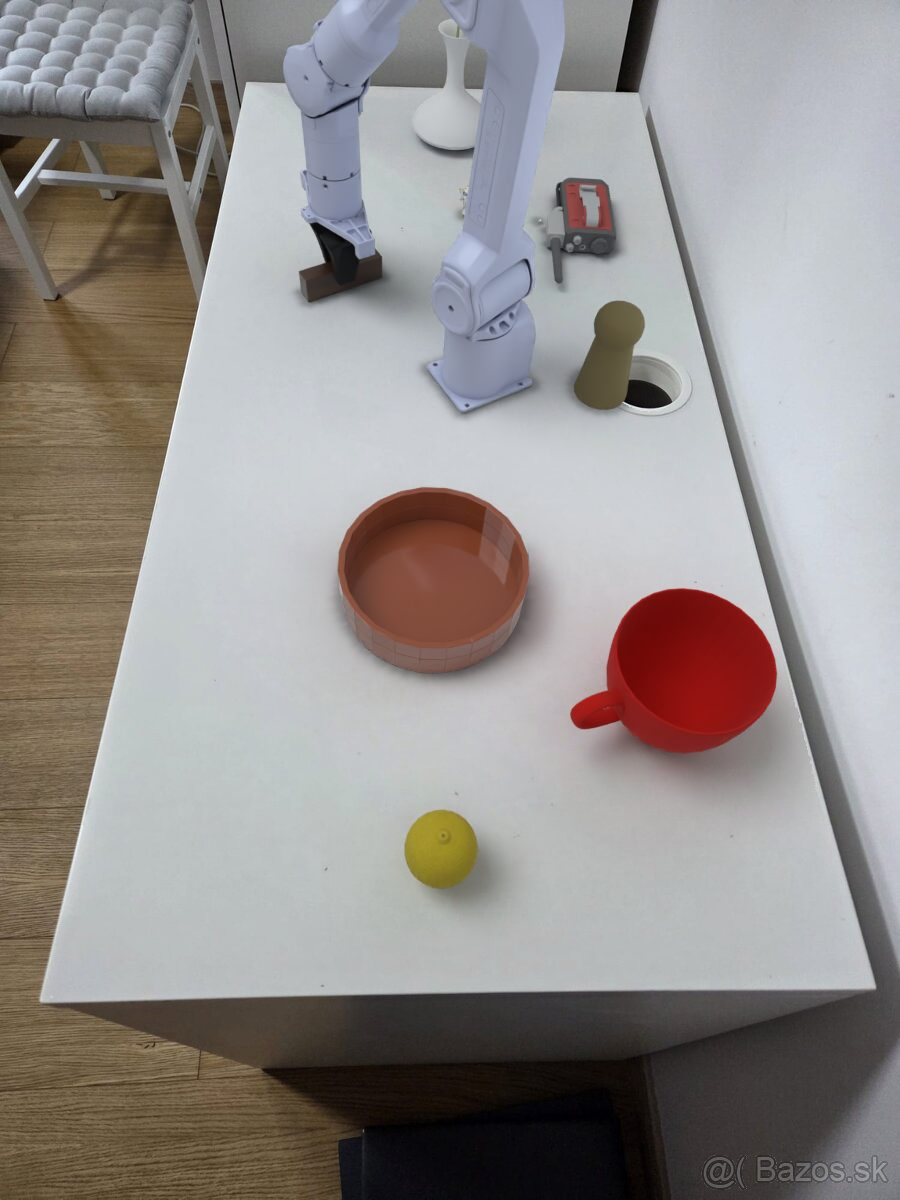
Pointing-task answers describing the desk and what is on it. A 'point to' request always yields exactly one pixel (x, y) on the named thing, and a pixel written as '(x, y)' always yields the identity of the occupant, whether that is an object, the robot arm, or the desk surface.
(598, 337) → the olive brown pawn
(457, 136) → the flower in vase
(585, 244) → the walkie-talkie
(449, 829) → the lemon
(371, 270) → the brown rectangular block
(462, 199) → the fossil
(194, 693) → the desk surface
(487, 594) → the bowl
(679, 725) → the ceramic cup
